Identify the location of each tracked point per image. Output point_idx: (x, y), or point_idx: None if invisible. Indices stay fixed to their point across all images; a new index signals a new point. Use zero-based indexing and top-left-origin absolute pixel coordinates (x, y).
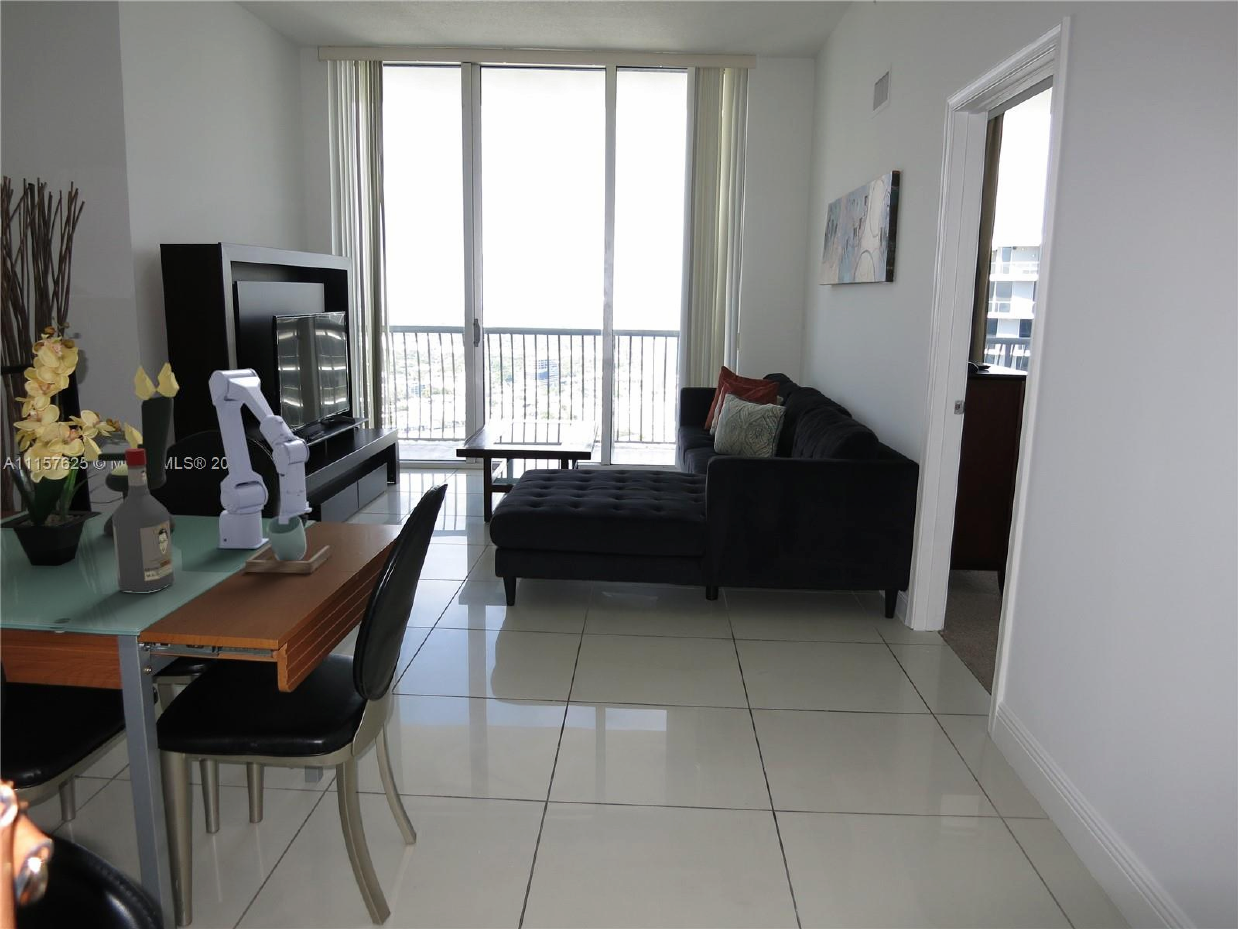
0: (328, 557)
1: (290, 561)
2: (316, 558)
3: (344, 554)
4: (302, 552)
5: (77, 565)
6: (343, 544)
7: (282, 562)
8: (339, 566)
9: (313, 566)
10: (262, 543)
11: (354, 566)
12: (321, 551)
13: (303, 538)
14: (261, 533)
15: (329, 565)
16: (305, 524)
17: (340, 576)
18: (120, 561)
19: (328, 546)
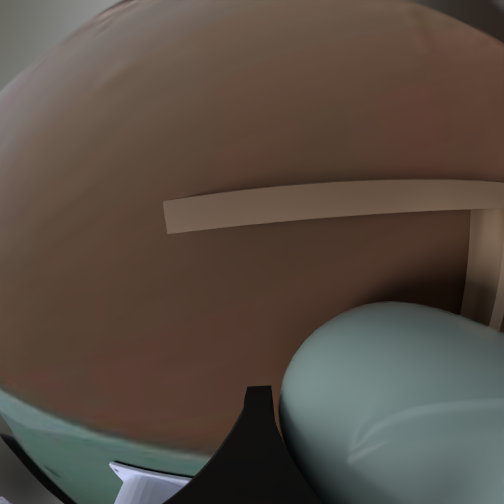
0: (224, 191)
1: (501, 298)
2: (458, 180)
3: (145, 132)
4: (421, 305)
5: None
6: (25, 228)
7: (499, 327)
8: (374, 70)
9: (478, 180)
10: (152, 474)
11: (351, 8)
12: (323, 201)
13: (488, 345)
14: (137, 496)
15: (371, 126)
16: (178, 494)
17: (478, 53)
18: None
19: (179, 206)
